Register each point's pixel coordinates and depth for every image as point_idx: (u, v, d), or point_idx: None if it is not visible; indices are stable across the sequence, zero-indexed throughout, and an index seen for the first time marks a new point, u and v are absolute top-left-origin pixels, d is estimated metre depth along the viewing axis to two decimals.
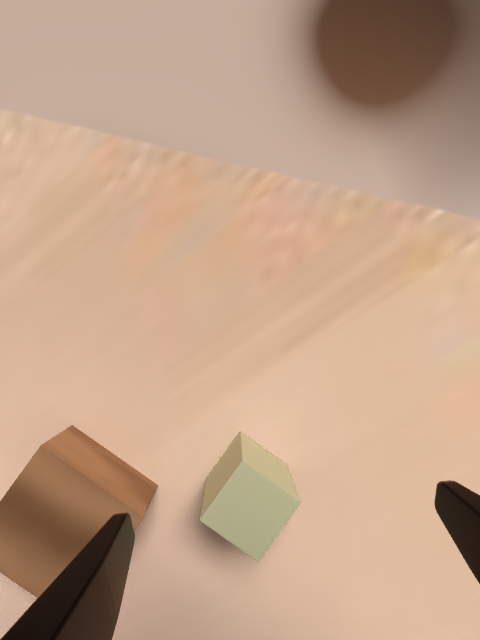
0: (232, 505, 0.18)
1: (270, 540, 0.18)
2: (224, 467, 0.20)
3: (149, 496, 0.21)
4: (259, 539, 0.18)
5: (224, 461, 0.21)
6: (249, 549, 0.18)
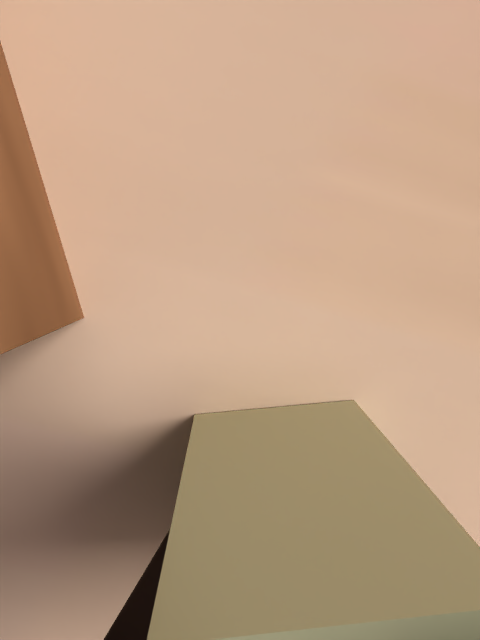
0: None
1: None
2: (312, 476, 0.06)
3: (39, 322, 0.06)
4: None
5: (294, 443, 0.07)
6: None
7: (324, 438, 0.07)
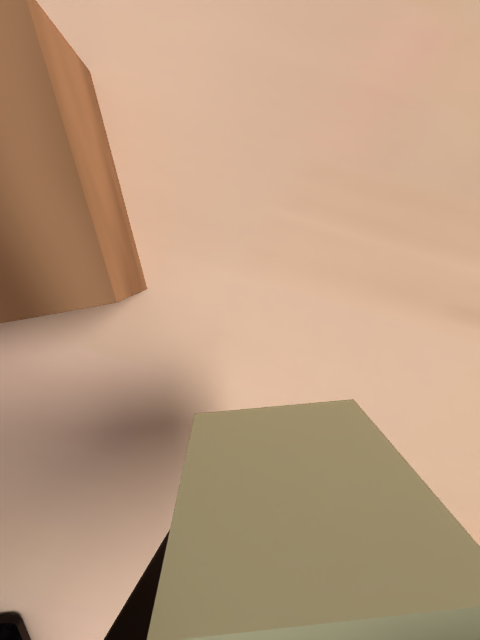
0: None
1: None
2: (311, 475, 0.06)
3: (134, 287, 0.11)
4: None
5: (294, 442, 0.07)
6: None
7: (324, 437, 0.07)
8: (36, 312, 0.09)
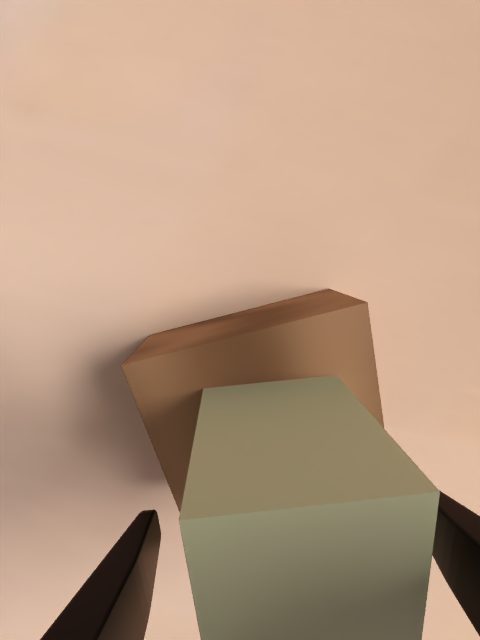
0: (291, 558, 0.05)
1: None
2: (297, 426, 0.07)
3: None
4: None
5: (285, 405, 0.08)
6: None
7: (309, 402, 0.08)
8: None
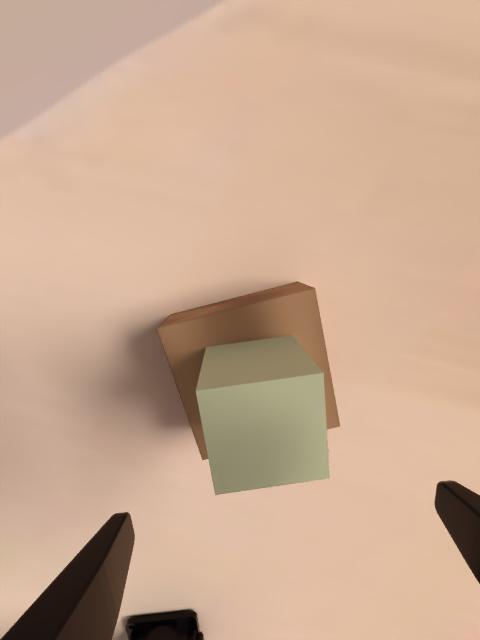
0: (253, 412, 0.11)
1: (254, 485, 0.11)
2: (261, 358, 0.12)
3: None
4: (242, 474, 0.11)
5: (256, 350, 0.14)
6: (219, 474, 0.11)
7: (271, 348, 0.14)
8: None
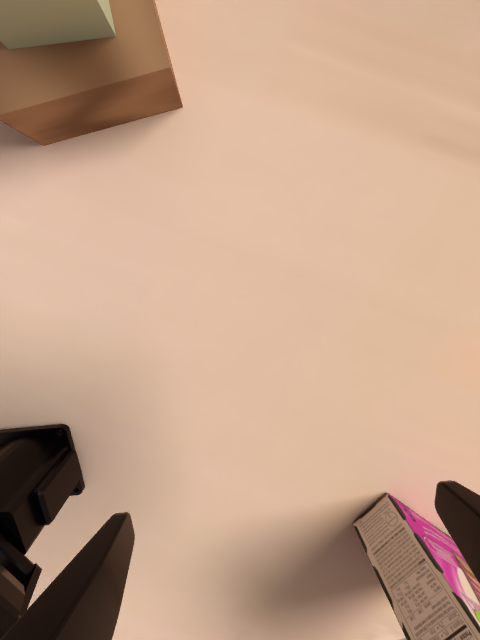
0: None
1: None
2: None
3: (176, 86, 0.15)
4: None
5: None
6: None
7: None
8: (112, 79, 0.13)
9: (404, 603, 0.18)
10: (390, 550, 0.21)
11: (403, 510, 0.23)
